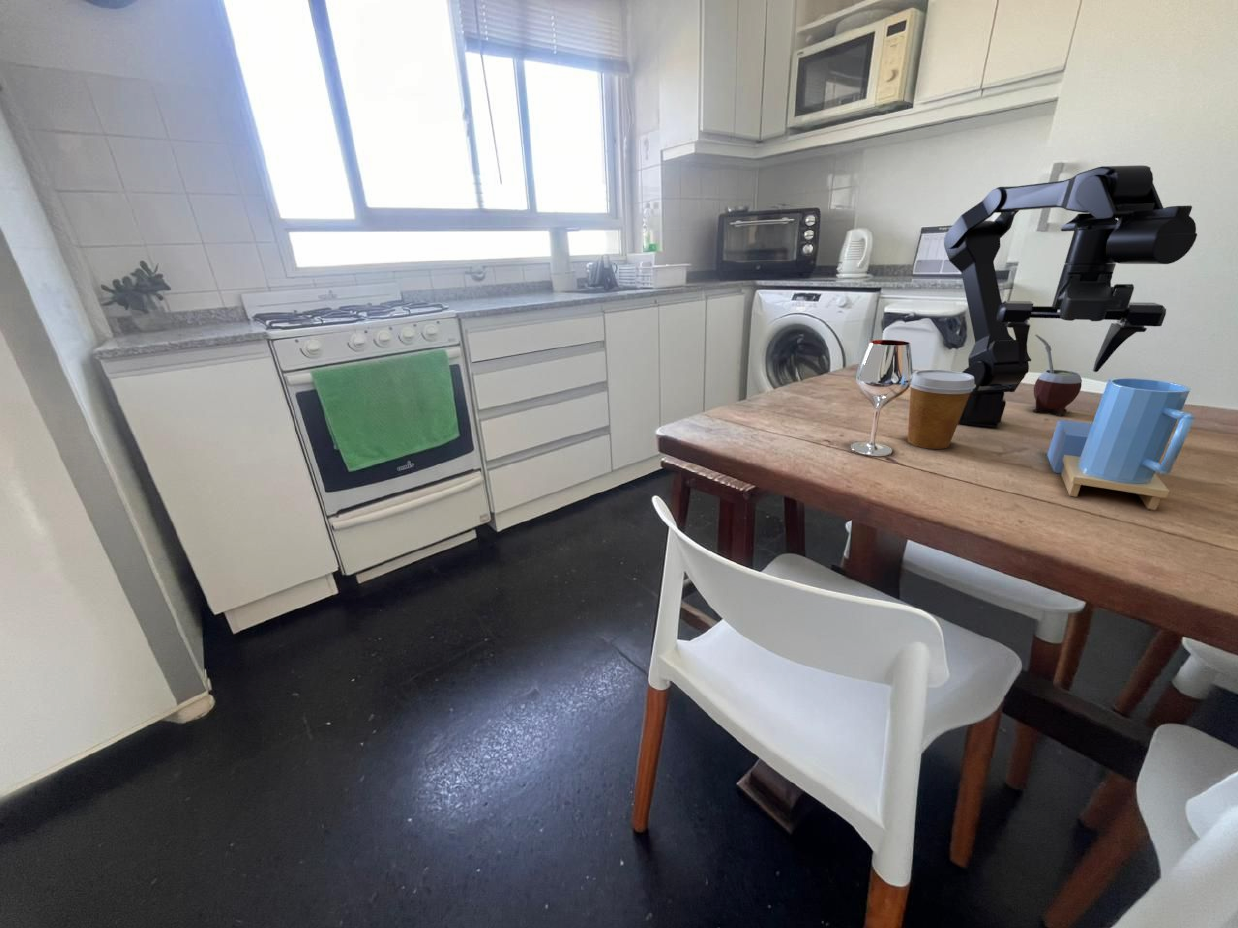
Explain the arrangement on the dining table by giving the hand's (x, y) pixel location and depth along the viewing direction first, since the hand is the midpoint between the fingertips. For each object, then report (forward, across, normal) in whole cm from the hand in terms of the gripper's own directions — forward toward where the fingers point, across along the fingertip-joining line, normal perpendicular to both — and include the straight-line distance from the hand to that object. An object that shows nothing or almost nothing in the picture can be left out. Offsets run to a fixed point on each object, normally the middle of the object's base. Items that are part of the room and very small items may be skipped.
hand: (1056, 368), depth 79 cm
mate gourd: (+13, +4, +24) cm, 28 cm away
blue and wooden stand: (+13, +6, -13) cm, 19 cm away
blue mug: (+10, +7, -19) cm, 22 cm away
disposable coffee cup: (+13, -15, -7) cm, 21 cm away
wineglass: (+13, -23, -15) cm, 30 cm away
